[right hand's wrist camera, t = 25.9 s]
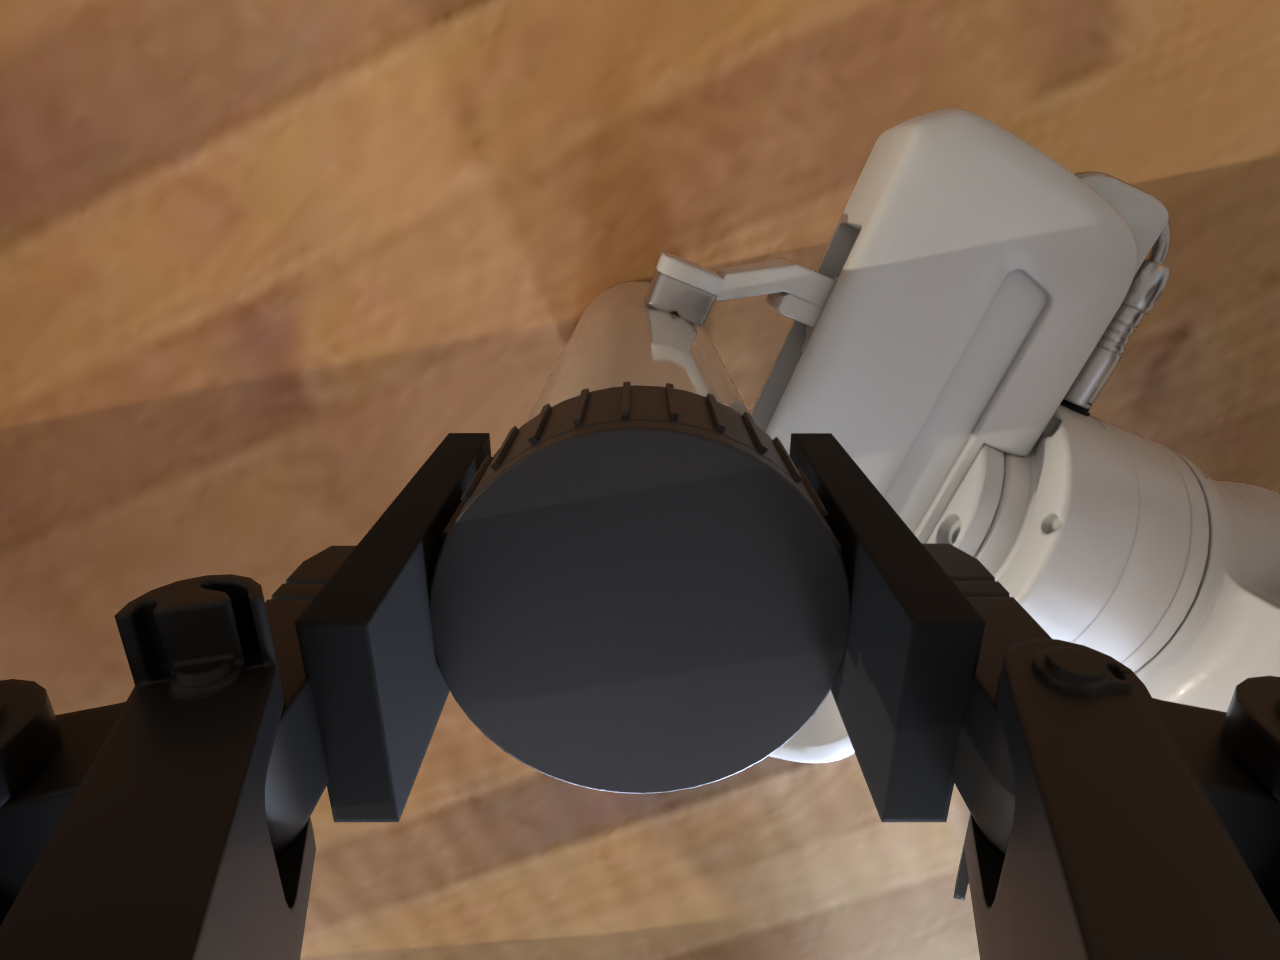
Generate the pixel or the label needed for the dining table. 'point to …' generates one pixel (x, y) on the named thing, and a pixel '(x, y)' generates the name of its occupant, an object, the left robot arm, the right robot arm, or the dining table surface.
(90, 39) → the dining table surface
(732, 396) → the jar
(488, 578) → the lid
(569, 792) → the dining table surface
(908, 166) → the left robot arm
